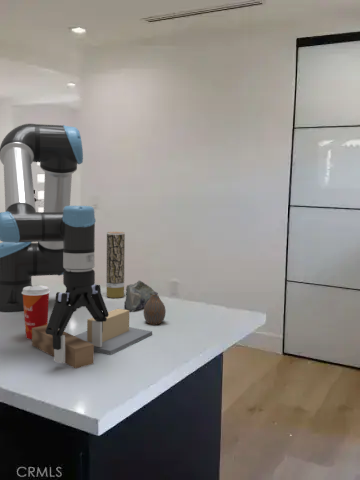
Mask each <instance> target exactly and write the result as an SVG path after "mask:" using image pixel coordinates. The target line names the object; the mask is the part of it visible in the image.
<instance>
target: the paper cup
mask: <svg viewBox="0 0 360 480" xmlns="http://www.w3.org/2000/svg"><path fill="white" fill-rule="evenodd" d="M50 293H51V291H50V288H49V286H46V285H32V286H27V287H24V288H23V291H22V294H23V304H24V310H23V314H24V315H23V316H24V318H23V319H24V326H25V327H24V328H25V338H26V339H28V340H32V328H34V327H40V326H45V325H48V322H49V301H50V298H49V297H50Z"/></svg>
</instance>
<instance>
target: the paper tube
mask: <svg viewBox="0 0 360 480" xmlns="http://www.w3.org/2000/svg"><path fill="white" fill-rule="evenodd" d="M125 236H126V235H125V232H123V231H108V232H106V297H108V298H110V299H119V298H123V297H124V296H125V252H126V251H125V250H126V249H125V240H126V237H125Z"/></svg>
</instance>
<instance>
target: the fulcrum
mask: <svg viewBox="0 0 360 480" xmlns="http://www.w3.org/2000/svg"><path fill="white" fill-rule="evenodd" d="M108 314H109V315H108V317H106V318H107V320H106V321H105V322H104V321H103V332H102V347H96V346H94V352H98V353H100V354H105V355H110V356H111V355H113V354H115V353H117V352H119V351H121V350H124V349H125V348H127V347H130V346H132V345H133V344H136V343H138V342H140V341H142V340H144V339H147V338H148V337H150V336H152V335H153V331H151V330H148V329H147V330H146V329H142V328H141V329H140V328H136V327H131V326H130V311H129V310H127V309H125V308H124V309H123V308H116V309H113V310H110V311H108ZM86 320H87V321H86V323H87V325H86V327H87V328H86V331H84V332H80V333H78V334H75V335H74V336H75V337H77V338H80V339H82V340H84V341H86V342H89V343H91V344H92V321H96V320H94V318H93V317H90V318H87V319H86Z"/></svg>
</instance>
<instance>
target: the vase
mask: <svg viewBox="0 0 360 480" xmlns="http://www.w3.org/2000/svg"><path fill="white" fill-rule="evenodd" d="M166 311H167V310H166V306H165V303H164V302H163V301H162V300H161V299H160V296H159V295H151V297H150V299H149V300H148V301H147V303H146V304H145V307H144V308H143V317H144V319H145V321H146V322H147V323H148V324H149V325H160V324H162V322H163V321H164V320H165V318H166Z"/></svg>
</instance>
